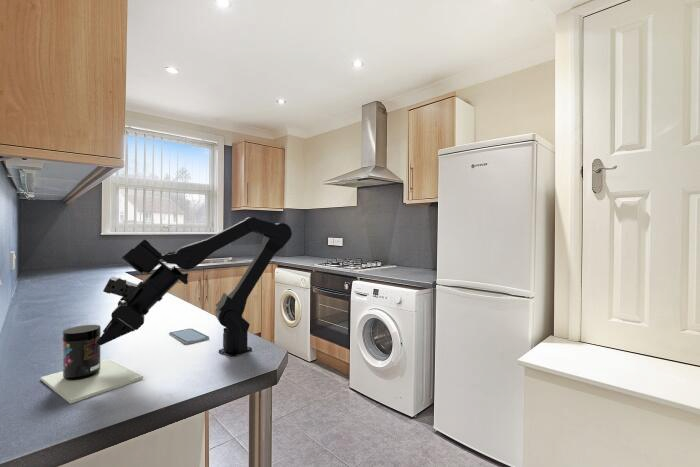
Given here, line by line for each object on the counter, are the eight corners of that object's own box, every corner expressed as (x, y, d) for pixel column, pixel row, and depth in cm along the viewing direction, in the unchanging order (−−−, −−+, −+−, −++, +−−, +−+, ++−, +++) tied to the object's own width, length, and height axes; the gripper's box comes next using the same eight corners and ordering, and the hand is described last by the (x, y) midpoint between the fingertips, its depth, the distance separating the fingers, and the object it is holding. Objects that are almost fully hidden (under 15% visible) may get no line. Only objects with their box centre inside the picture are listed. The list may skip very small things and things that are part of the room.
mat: (142, 378, 75) (142, 376, 75) (70, 403, 64) (70, 400, 64) (108, 360, 84) (108, 358, 84) (40, 379, 74) (40, 377, 74)
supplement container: (78, 368, 78) (78, 324, 78) (107, 368, 79) (107, 324, 78) (54, 381, 71) (53, 333, 71) (86, 381, 72) (86, 333, 72)
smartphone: (191, 328, 112) (210, 337, 102) (191, 330, 112) (210, 340, 102) (167, 332, 107) (185, 342, 96) (167, 335, 107) (185, 346, 96)
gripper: (131, 261, 87) (78, 308, 82) (124, 268, 71) (58, 327, 66) (165, 288, 91) (117, 334, 86) (167, 301, 75) (107, 359, 70)
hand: (101, 338), depth 77 cm, fingers open, 9 cm apart
